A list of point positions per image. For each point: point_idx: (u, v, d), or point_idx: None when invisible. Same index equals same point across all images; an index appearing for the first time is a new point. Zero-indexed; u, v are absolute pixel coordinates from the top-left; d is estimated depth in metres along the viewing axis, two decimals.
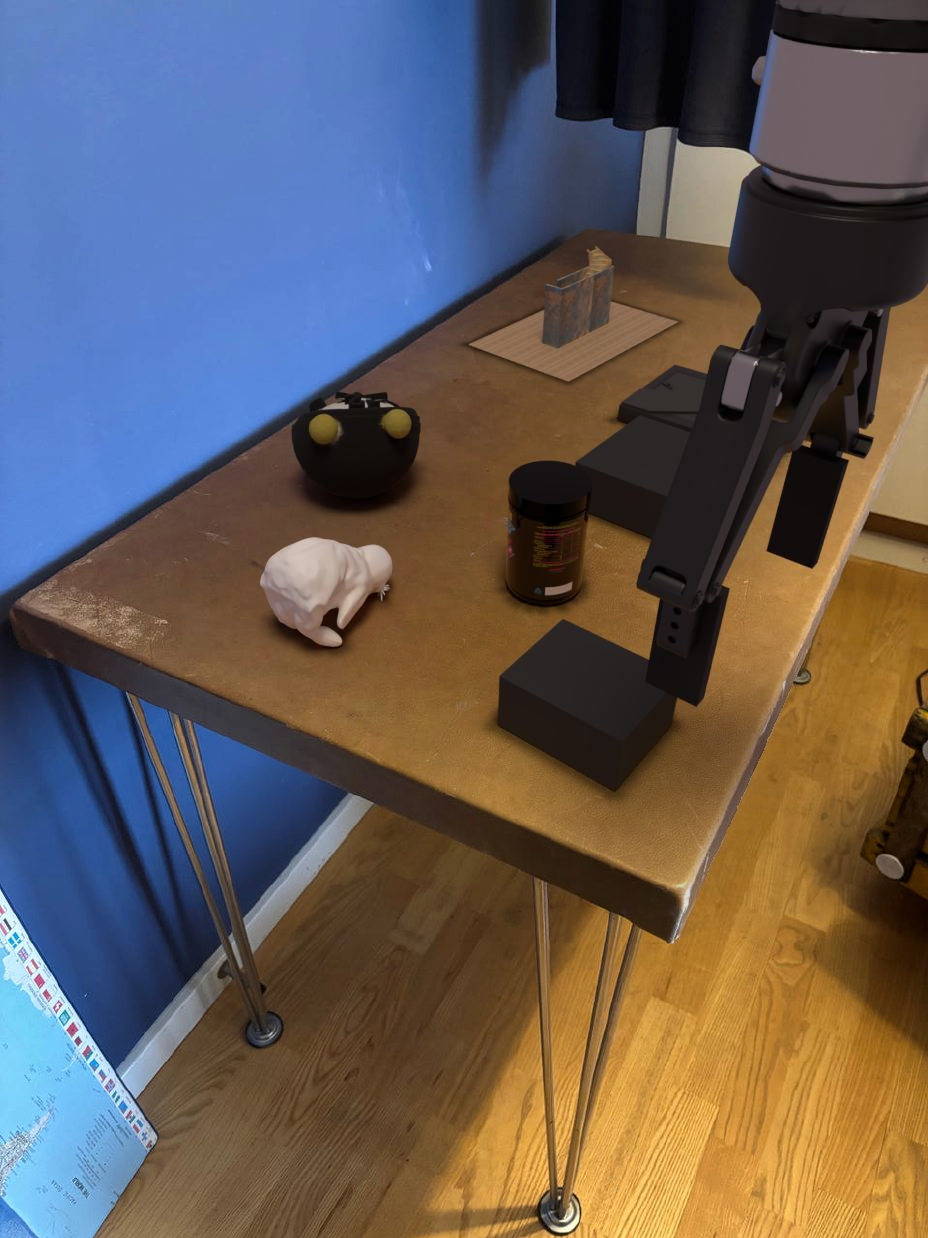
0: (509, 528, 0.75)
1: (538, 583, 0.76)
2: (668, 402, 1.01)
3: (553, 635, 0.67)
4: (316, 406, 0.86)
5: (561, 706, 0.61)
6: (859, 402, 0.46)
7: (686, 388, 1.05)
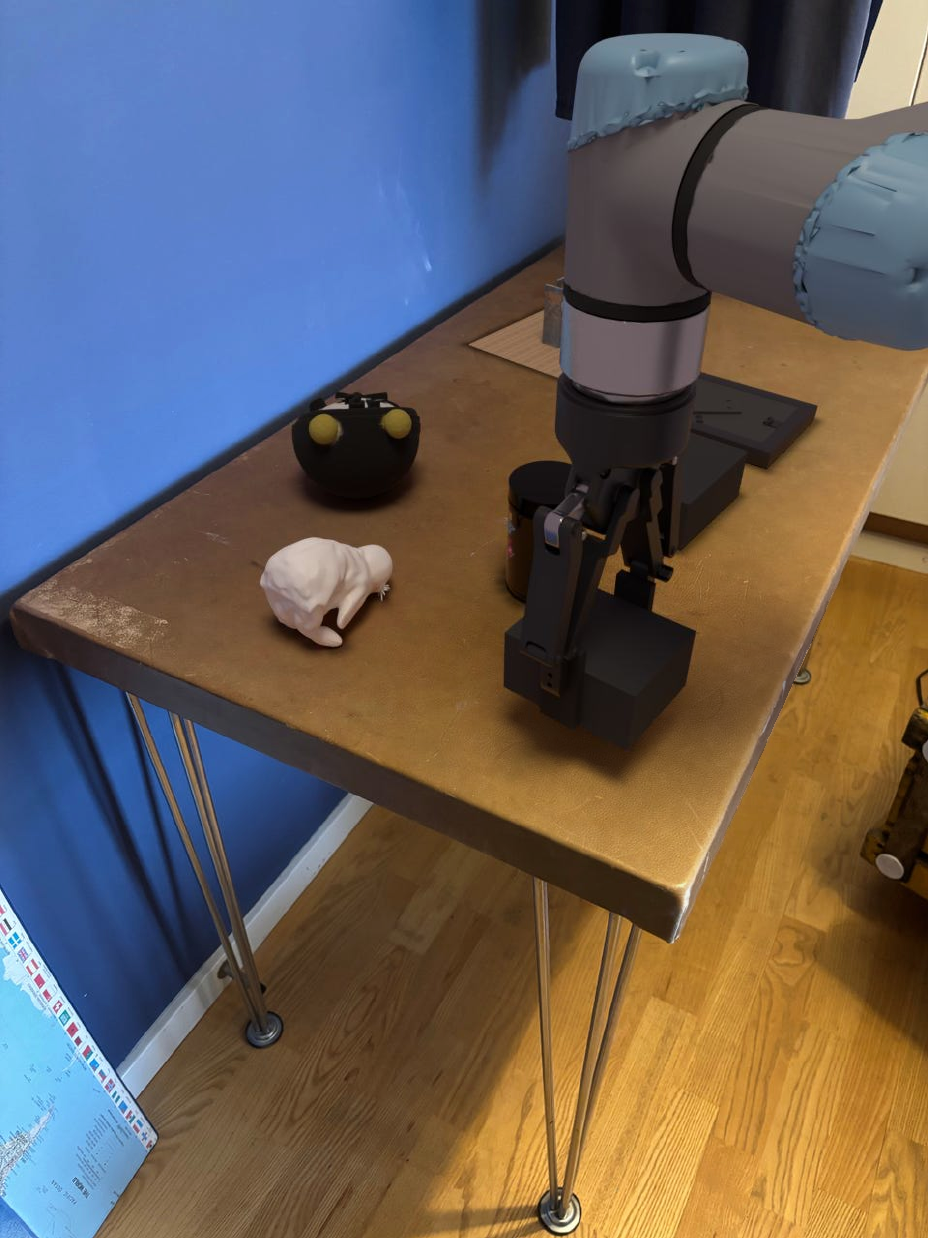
0: (509, 528, 0.75)
1: None
2: None
3: None
4: (316, 406, 0.86)
5: None
6: (664, 534, 0.61)
7: None
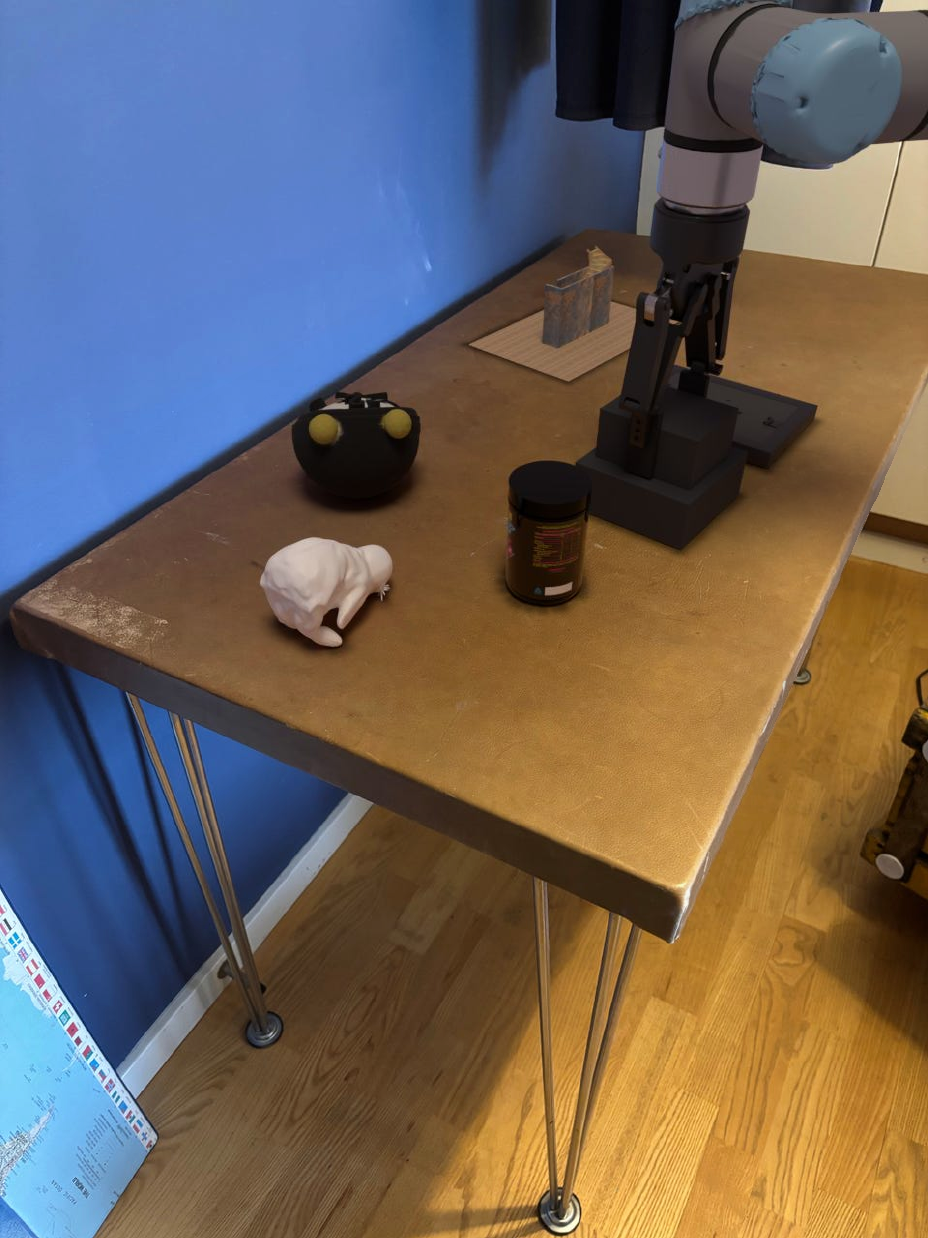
0: (509, 528, 0.75)
1: (538, 583, 0.76)
2: None
3: None
4: (316, 406, 0.86)
5: None
6: (717, 339, 0.84)
7: None
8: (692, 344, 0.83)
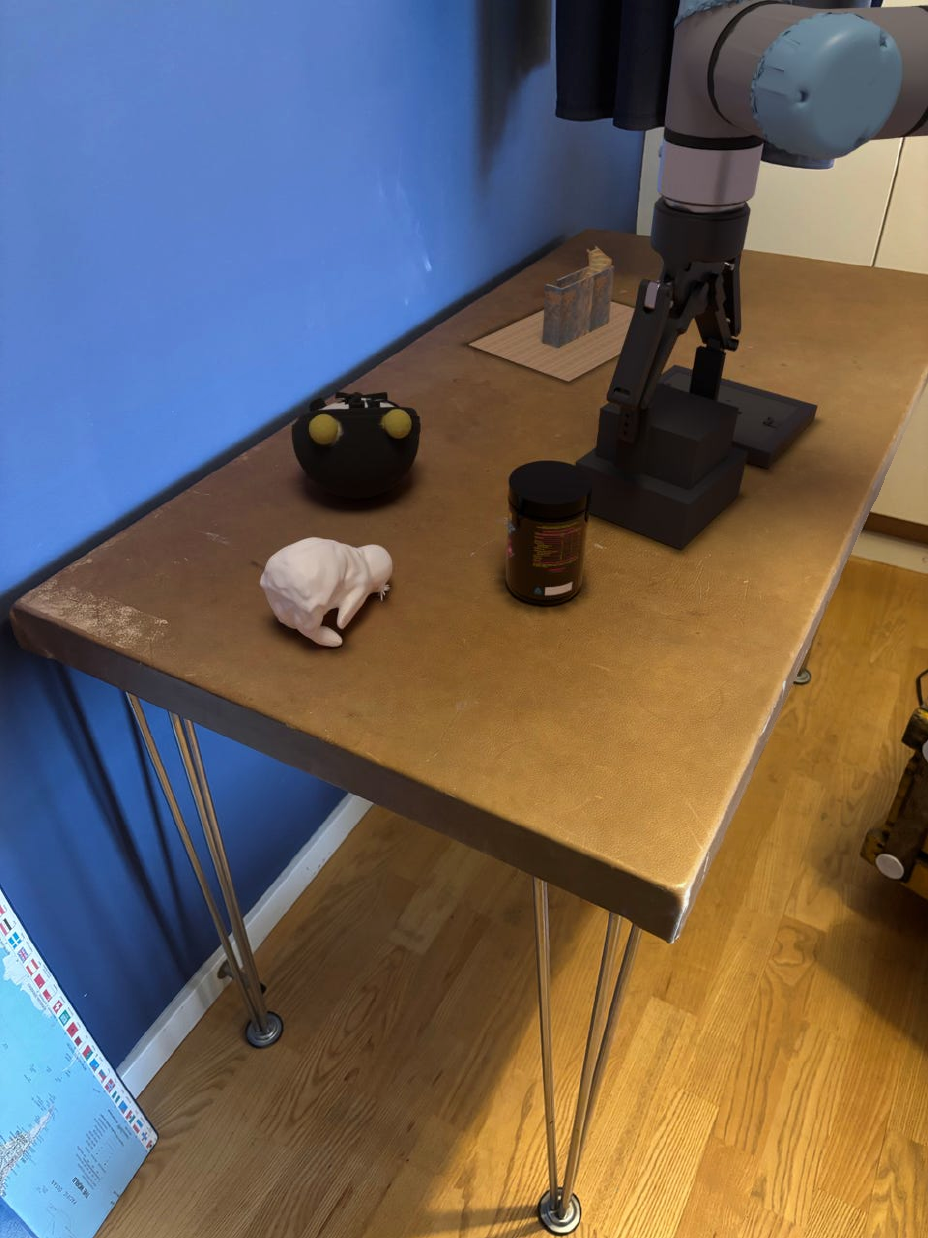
0: (509, 528, 0.75)
1: (538, 583, 0.76)
2: None
3: None
4: (316, 406, 0.86)
5: None
6: (730, 320, 0.84)
7: (686, 388, 1.05)
8: (704, 328, 0.83)
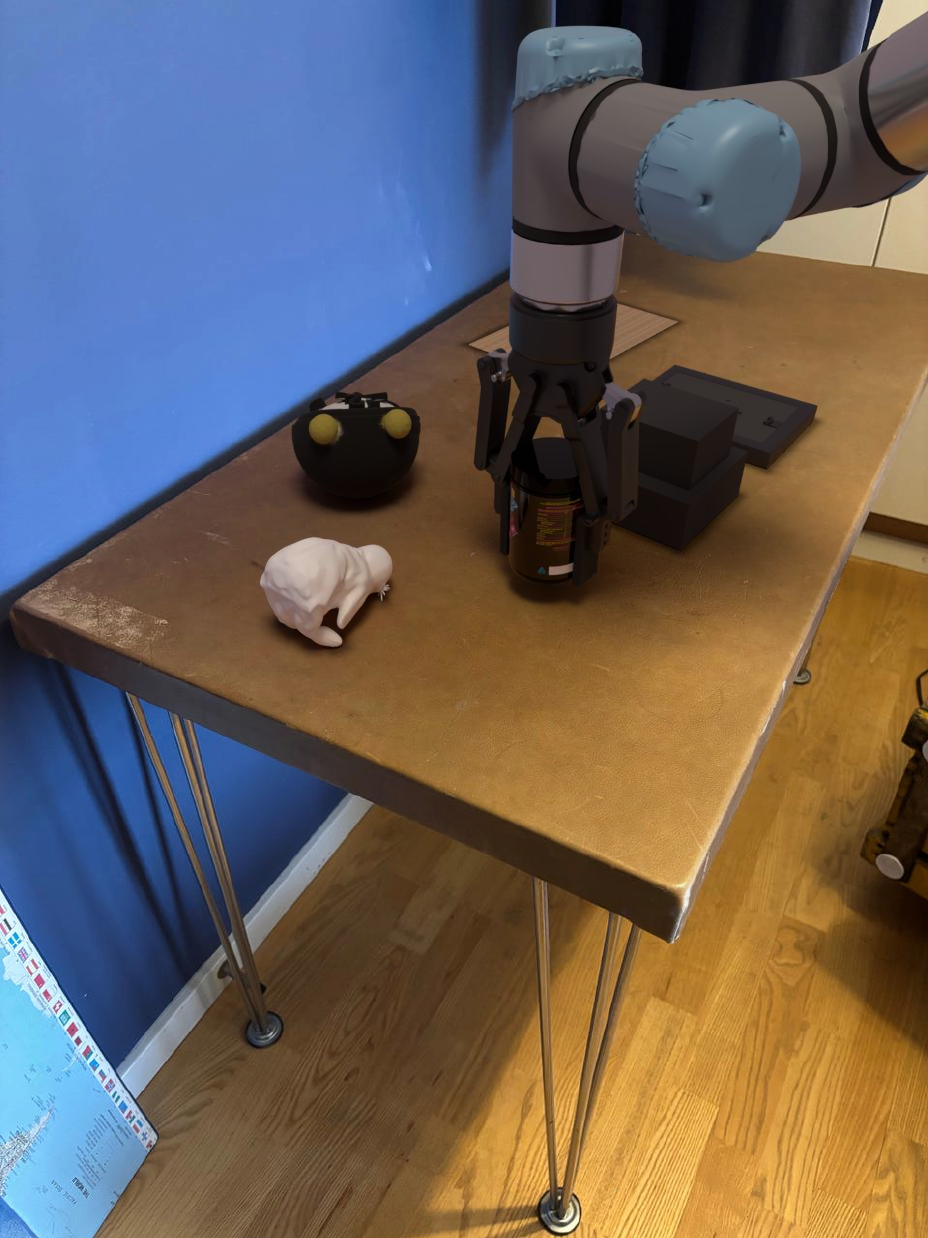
0: (512, 506, 0.73)
1: (542, 563, 0.74)
2: None
3: (637, 387, 0.87)
4: (316, 406, 0.86)
5: (649, 423, 0.81)
6: (610, 491, 0.68)
7: (686, 388, 1.05)
8: None
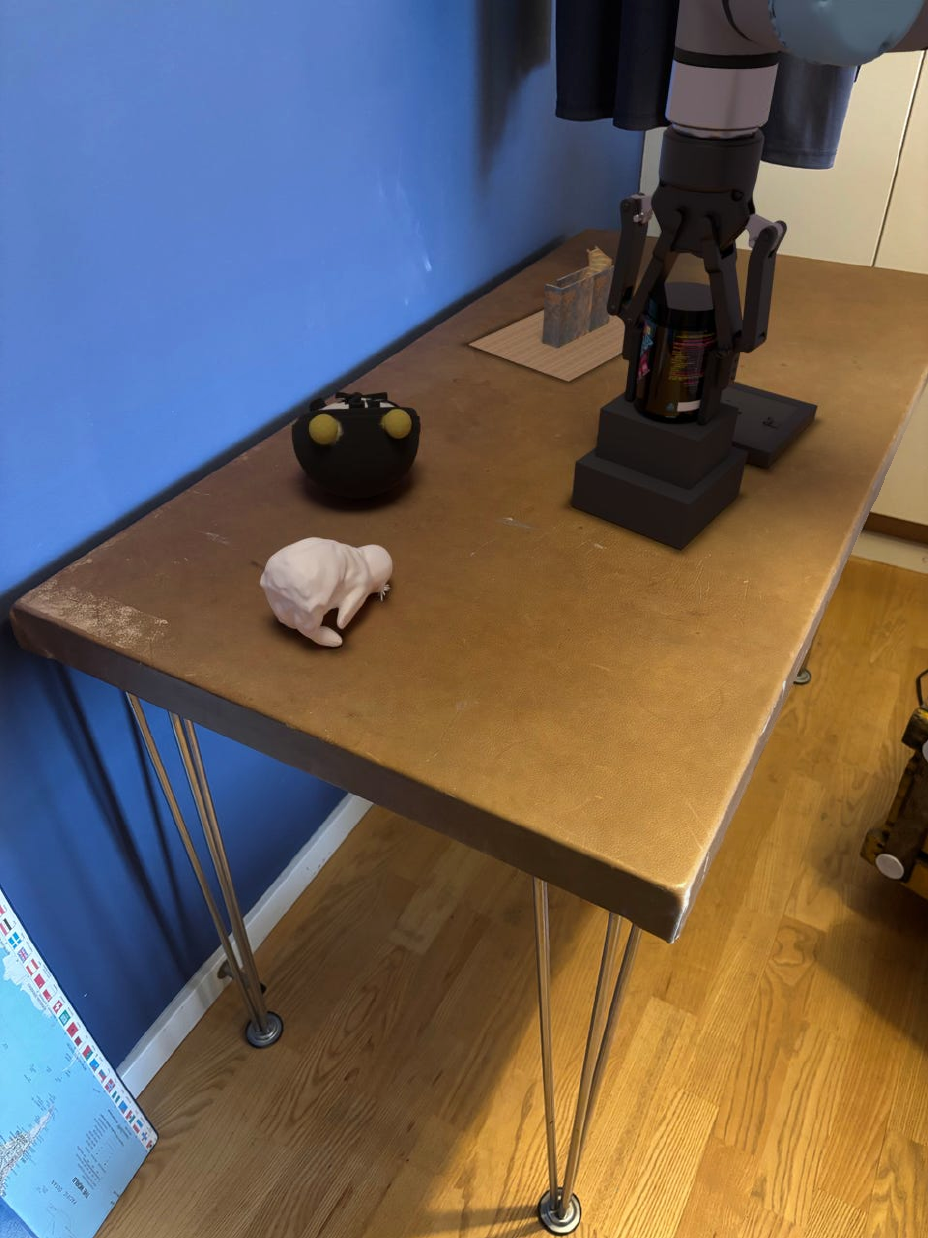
0: (645, 344, 0.79)
1: (671, 399, 0.80)
2: None
3: None
4: (316, 406, 0.86)
5: (649, 423, 0.81)
6: None
7: None
8: None
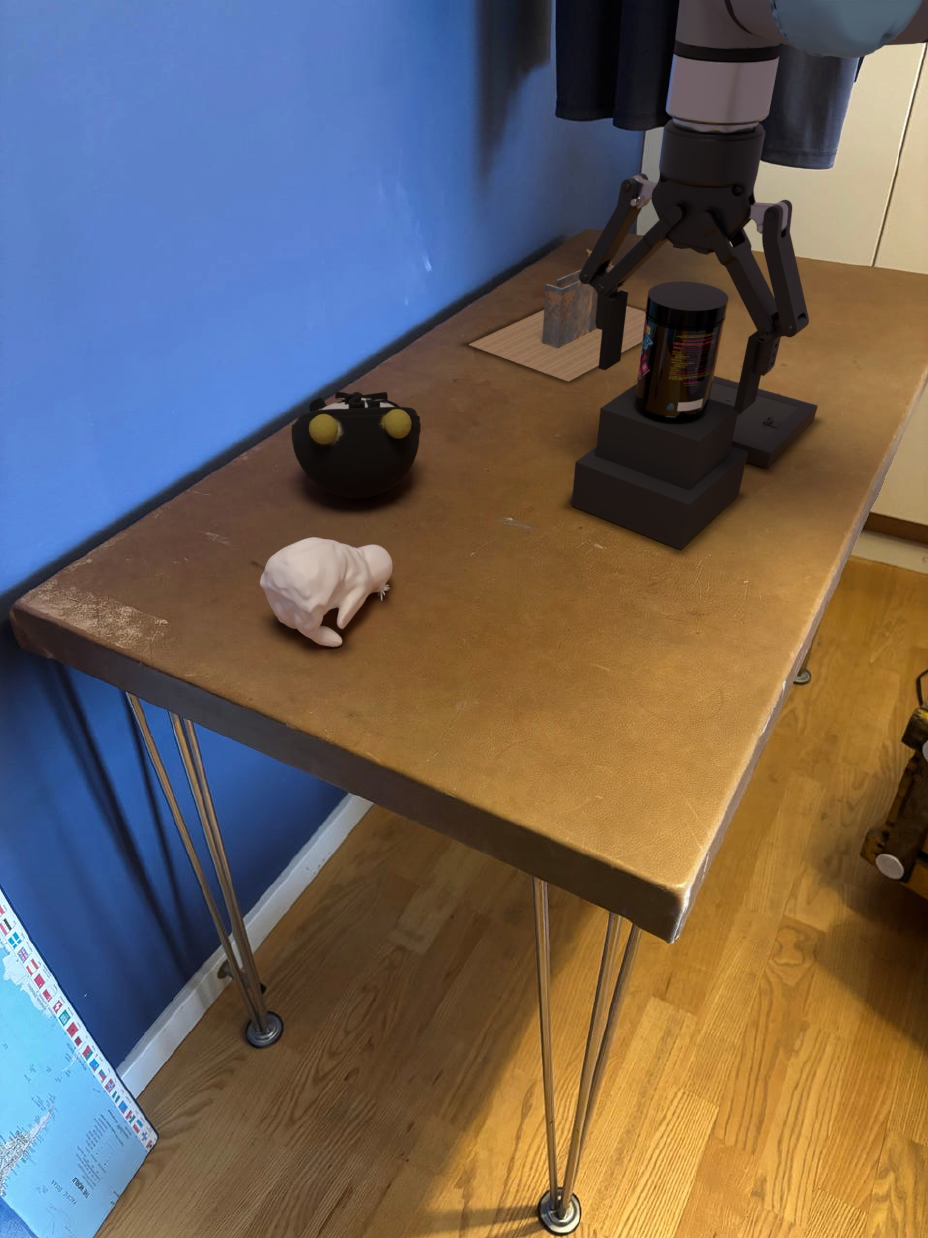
0: (645, 344, 0.79)
1: (672, 399, 0.80)
2: None
3: None
4: (316, 406, 0.86)
5: (649, 423, 0.81)
6: None
7: None
8: None
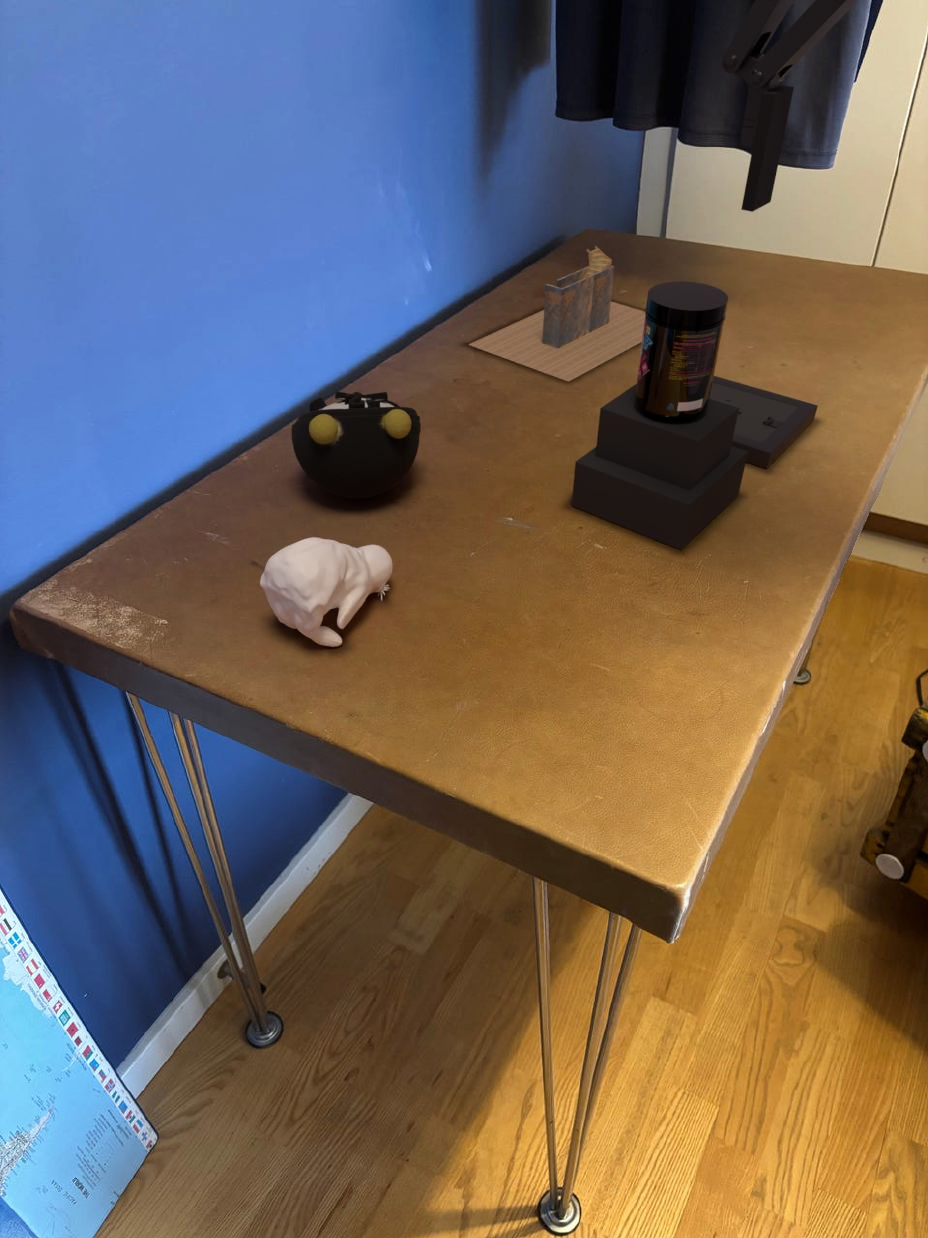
0: (645, 344, 0.79)
1: (671, 399, 0.80)
2: None
3: None
4: (316, 406, 0.86)
5: (649, 423, 0.81)
6: None
7: None
8: None
